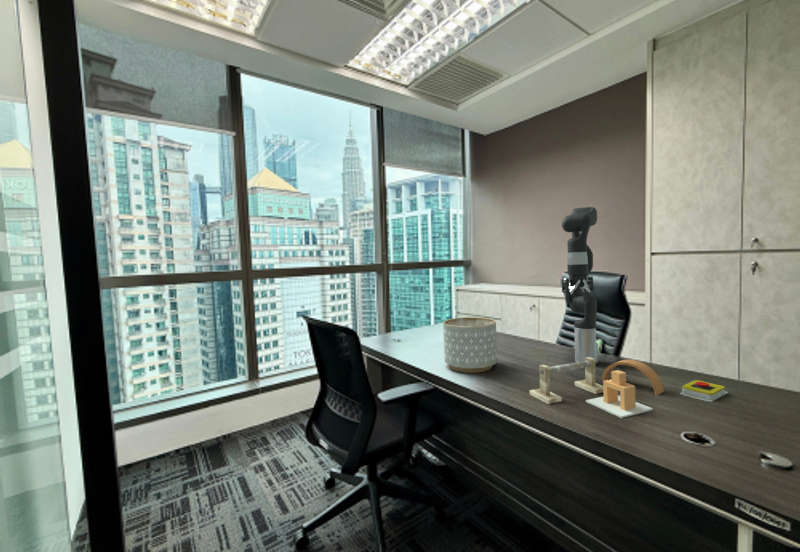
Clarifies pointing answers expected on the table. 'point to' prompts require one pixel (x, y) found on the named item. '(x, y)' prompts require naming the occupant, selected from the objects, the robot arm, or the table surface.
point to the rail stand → (585, 384)
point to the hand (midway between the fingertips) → (578, 302)
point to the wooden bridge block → (620, 385)
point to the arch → (642, 367)
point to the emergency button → (703, 390)
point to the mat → (618, 407)
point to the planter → (470, 344)
